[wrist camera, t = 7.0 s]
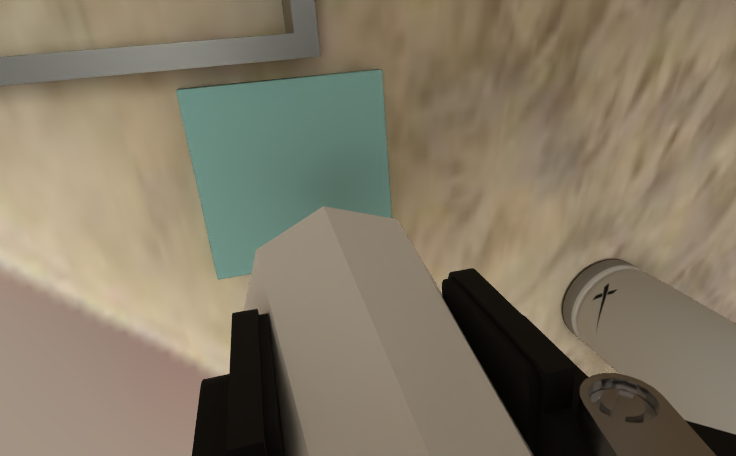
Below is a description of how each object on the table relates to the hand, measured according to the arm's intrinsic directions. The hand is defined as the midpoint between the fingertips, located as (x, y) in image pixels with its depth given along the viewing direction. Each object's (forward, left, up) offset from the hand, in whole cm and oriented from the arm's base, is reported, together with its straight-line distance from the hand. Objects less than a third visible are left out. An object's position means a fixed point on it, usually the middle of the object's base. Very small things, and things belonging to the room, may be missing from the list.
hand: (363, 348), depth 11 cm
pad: (0, 0, -16) cm, 16 cm away
